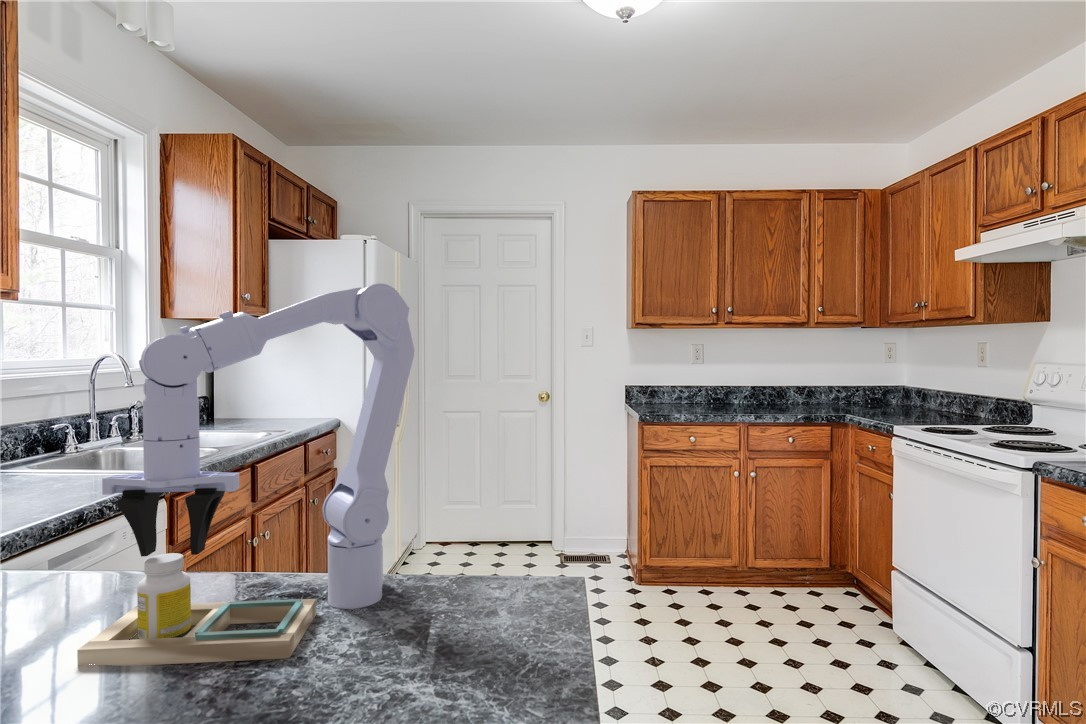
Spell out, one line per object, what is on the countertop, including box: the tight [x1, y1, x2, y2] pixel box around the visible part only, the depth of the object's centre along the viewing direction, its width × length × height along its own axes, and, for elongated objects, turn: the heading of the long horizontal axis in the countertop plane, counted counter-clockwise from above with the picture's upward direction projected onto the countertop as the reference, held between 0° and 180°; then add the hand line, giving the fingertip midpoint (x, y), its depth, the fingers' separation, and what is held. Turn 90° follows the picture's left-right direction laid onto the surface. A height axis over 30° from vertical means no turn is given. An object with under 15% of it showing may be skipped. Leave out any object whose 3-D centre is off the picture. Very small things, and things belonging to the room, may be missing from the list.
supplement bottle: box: [136, 552, 192, 639], centre depth 75 cm, size 5×5×10 cm
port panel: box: [76, 598, 318, 667], centre depth 75 cm, size 12×22×2 cm, turn 96°
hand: (173, 553), depth 75 cm, fingers open, 5 cm apart
